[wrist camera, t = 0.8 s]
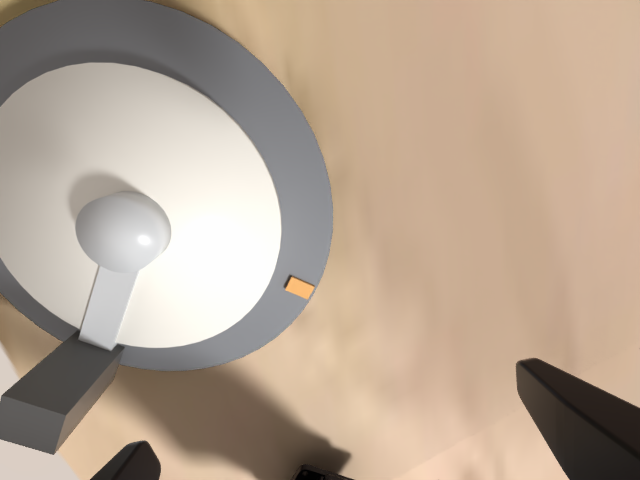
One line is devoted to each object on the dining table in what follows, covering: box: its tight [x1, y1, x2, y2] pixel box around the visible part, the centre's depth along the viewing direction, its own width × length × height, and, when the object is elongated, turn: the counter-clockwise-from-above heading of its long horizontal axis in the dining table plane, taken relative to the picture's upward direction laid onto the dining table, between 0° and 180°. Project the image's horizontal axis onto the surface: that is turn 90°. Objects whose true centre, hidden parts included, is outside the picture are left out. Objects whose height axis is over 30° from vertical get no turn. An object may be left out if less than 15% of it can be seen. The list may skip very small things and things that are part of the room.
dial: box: [0, 63, 282, 455], centre depth 16 cm, size 20×16×6 cm
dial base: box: [0, 0, 333, 371], centre depth 19 cm, size 22×22×2 cm
